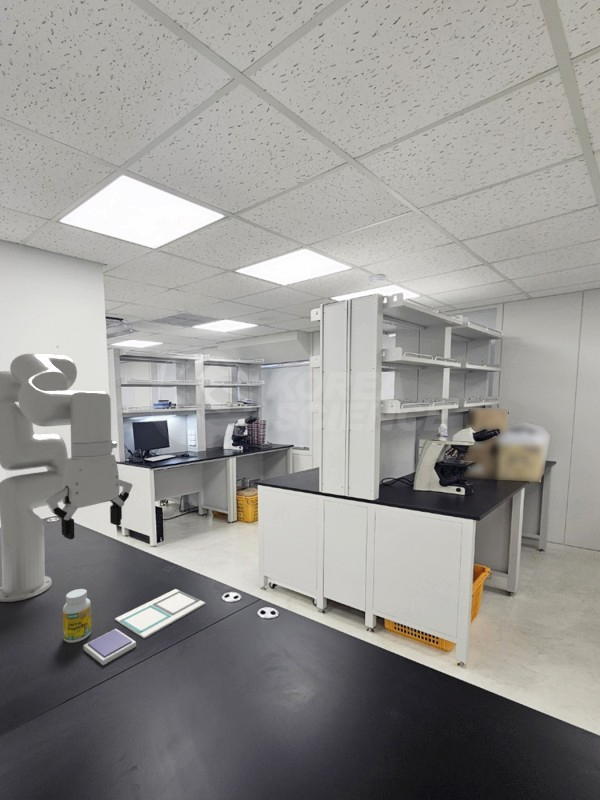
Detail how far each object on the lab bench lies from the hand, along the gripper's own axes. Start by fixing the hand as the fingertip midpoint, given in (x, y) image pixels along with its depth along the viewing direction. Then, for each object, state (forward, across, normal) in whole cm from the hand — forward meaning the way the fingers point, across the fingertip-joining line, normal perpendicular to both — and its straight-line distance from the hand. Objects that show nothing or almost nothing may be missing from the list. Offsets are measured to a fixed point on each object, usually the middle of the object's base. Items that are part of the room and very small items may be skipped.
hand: (93, 530), depth 82 cm
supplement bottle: (+25, 0, -7) cm, 26 cm away
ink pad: (+25, -2, +3) cm, 25 cm away
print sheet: (+25, -16, 0) cm, 29 cm away
